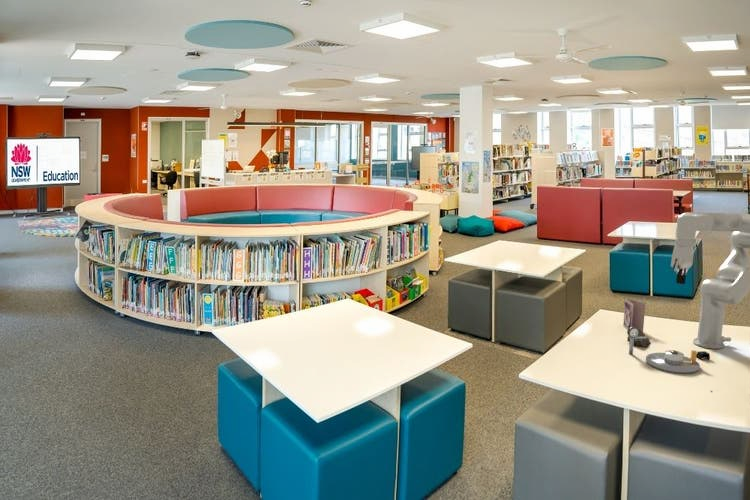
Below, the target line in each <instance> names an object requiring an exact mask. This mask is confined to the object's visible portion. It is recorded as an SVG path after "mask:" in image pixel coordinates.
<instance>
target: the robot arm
mask: <svg viewBox="0 0 750 500" xmlns="http://www.w3.org/2000/svg"><path fill="white" fill-rule="evenodd" d="M709 231H711V232H720V233H722V232H729V233H730V232H732V233H731V235H730V253H729V254H728V257H727V258H726V259H725V260H724V261H723V263H722V264H721V265H720V267H718V269H717V271H716V274H715V275H716V278H707V279H704V280H703V281H702V282H701V284H700V289H699V290H700V312H699V320H698V321H699V322H698V331H697V337H696V338H694V339H693V340H692V341H693V342H692V343H693V344H694V345H696V346H698V347H702V348H705V349H706V348H707V349H712V350H720V349H724V348H725V343H724V342H731V341H732V338H731V337H730V336H729V337H725V336H722V335H723V326H724V318H725V306H724V303H726V304H729V305H737V304H739V303H741V302H742V301H743V300H744V298H745V296H747V294H748V293H749V292H750V266H749V264H750V255H749V253H748V250H747V249H750V213H739V212H690V211H687V212H683V213H681V214H680V215H678V216H677V220H676V229H675V238H674V239H675V240H674V246H673V250H672V256H671V263H670V267H671V268H672V269H673V268H674V270H673V271H674V272H675V273H676V278H675V279H676V281H675V282H676V284H678V285H679V284H680V285H684V284H686V280H687V279H686V278H687V274H688V270H690V268H691V267H692V266H693V263H694V248H695V242H696V232H709Z"/></svg>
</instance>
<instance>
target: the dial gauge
mask: <svg viewBox="0 0 750 500" xmlns="http://www.w3.org/2000/svg"><path fill="white" fill-rule="evenodd" d="M626 333H627V337H628V336H630V345H629V349H628V355H634V347H635V346H634V339H646V337H647V336H646V337H638V335H639V329H637V328H636V327H630V328H629V329H628V330H627V331H626Z"/></svg>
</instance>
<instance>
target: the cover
mask: <svg viewBox="0 0 750 500" xmlns="http://www.w3.org/2000/svg"><path fill="white" fill-rule="evenodd" d="M664 353H665V354H664V362H665V363H667V364H670V365H677V366H679V365H682V364H683V357H684V355H685V354H684V353H683V352H681V351H678V350H670V349H668V350H665V351H664Z"/></svg>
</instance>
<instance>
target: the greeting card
mask: <svg viewBox="0 0 750 500" xmlns="http://www.w3.org/2000/svg"><path fill="white" fill-rule="evenodd" d="M645 311H646V303H645V302H643V301H642V302H641V301H638V300H634V299H630V298H626V297H625V301H624V312H623V323H622V327H623V328H625V329H626V330H627V331H628V329H629V328H630V327H636V328H639V329H640V330H641V331H642V332H643V333H644V326H645V325H644V323H645V314H646V312H645Z"/></svg>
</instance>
